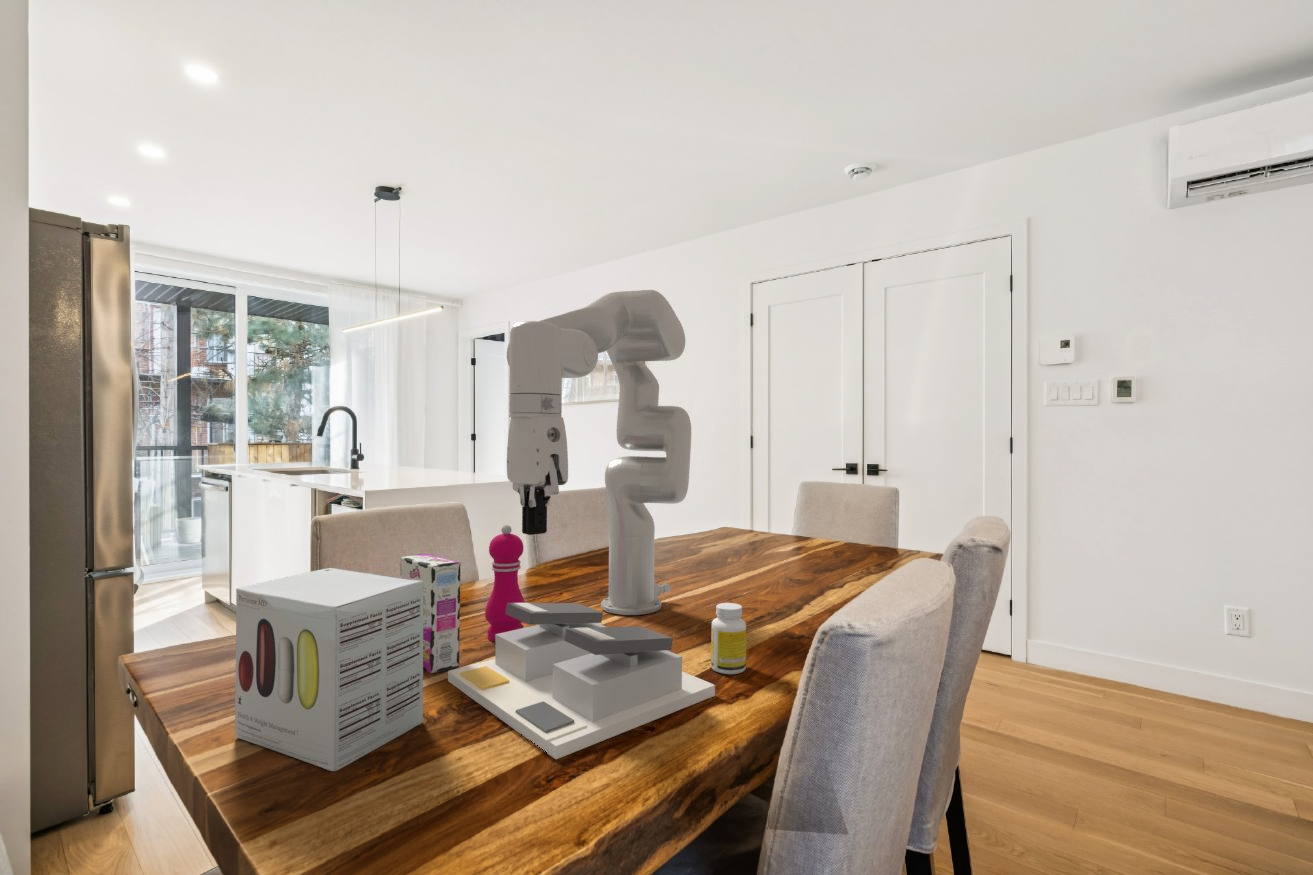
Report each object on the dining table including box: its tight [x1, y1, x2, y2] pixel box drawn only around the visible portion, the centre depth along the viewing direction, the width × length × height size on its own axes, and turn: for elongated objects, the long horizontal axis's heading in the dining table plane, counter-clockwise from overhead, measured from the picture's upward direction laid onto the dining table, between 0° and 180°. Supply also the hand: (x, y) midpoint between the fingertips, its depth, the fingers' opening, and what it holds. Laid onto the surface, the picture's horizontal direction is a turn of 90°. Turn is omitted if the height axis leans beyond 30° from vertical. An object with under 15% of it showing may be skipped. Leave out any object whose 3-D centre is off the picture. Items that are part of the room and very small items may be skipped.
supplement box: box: [234, 567, 424, 772], centre depth 76 cm, size 17×13×18 cm
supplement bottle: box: [710, 602, 747, 675], centre depth 97 cm, size 5×5×10 cm
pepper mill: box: [484, 524, 526, 643], centre depth 111 cm, size 7×7×20 cm
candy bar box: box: [399, 553, 461, 675], centre depth 99 cm, size 11×5×16 cm, turn 47°
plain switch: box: [564, 625, 674, 655], centre depth 84 cm, size 13×7×2 cm, turn 132°
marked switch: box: [505, 602, 604, 626], centre depth 96 cm, size 13×7×2 cm, turn 132°
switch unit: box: [447, 623, 716, 760], centre depth 89 cm, size 26×29×8 cm
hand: (534, 533), depth 91 cm, fingers closed
